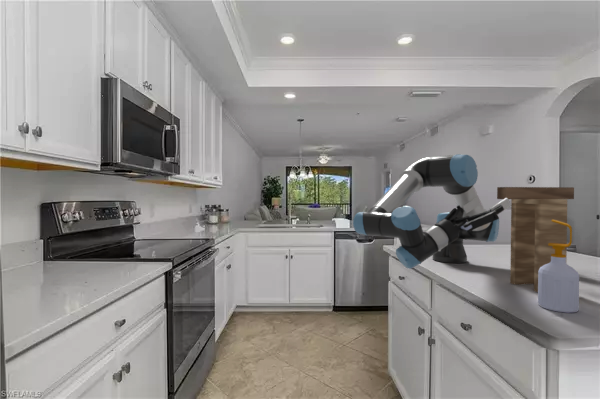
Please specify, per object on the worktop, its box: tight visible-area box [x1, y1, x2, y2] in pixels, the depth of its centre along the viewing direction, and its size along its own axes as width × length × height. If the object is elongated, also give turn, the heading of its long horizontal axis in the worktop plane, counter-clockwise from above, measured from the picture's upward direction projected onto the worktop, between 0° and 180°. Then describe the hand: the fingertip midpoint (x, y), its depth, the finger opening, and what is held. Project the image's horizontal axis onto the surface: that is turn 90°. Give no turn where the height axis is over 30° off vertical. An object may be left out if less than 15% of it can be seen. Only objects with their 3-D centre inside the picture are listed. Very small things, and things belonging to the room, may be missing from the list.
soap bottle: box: [537, 219, 580, 314], centre depth 95 cm, size 9×9×25 cm
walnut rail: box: [496, 186, 575, 200], centre depth 115 cm, size 4×26×4 cm, turn 100°
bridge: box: [509, 199, 568, 293], centre depth 116 cm, size 12×10×30 cm
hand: (492, 201), depth 112 cm, fingers open, 13 cm apart
